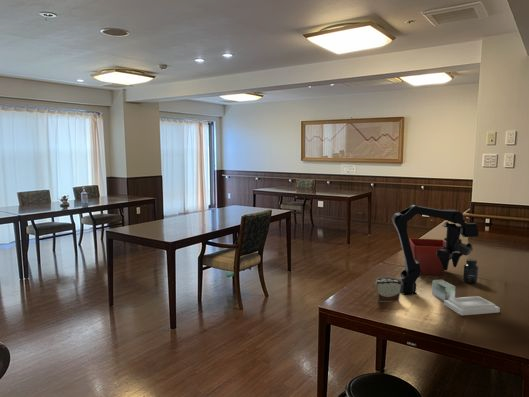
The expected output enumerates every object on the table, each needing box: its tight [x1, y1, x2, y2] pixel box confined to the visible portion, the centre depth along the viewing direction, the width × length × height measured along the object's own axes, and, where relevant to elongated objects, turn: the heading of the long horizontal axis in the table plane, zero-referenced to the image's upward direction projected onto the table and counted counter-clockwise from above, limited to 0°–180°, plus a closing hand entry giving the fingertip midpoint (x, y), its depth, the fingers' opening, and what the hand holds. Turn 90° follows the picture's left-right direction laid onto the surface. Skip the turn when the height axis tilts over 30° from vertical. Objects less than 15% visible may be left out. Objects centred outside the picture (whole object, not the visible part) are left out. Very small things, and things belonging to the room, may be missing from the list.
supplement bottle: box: [462, 258, 480, 285], centre depth 206 cm, size 7×7×12 cm
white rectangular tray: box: [443, 295, 501, 316], centre depth 173 cm, size 18×12×3 cm, turn 100°
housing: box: [431, 279, 456, 302], centre depth 186 cm, size 5×10×7 cm, turn 10°
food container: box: [374, 276, 403, 303], centre depth 184 cm, size 12×6×10 cm, turn 92°
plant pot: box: [409, 237, 446, 276], centre depth 225 cm, size 19×19×17 cm
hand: (450, 268), depth 189 cm, fingers open, 9 cm apart
